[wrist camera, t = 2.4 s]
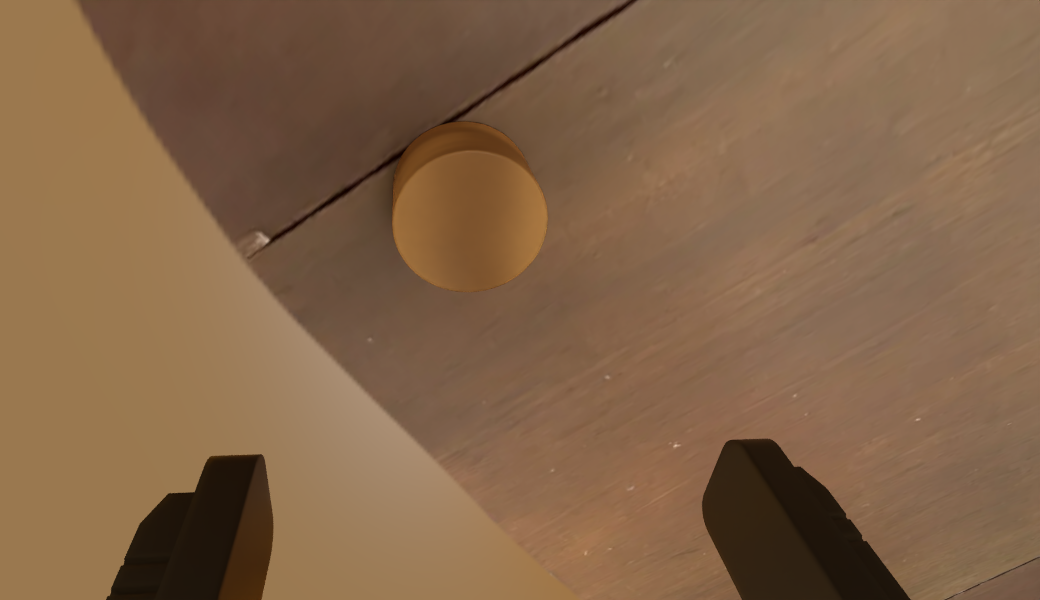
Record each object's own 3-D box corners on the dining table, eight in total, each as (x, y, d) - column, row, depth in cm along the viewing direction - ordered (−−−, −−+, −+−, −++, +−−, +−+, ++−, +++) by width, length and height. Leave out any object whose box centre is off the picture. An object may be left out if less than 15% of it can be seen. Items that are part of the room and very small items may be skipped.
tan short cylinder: (392, 249, 21) (392, 292, 19) (393, 115, 19) (392, 145, 16) (522, 252, 22) (537, 293, 20) (538, 125, 20) (559, 155, 17)
